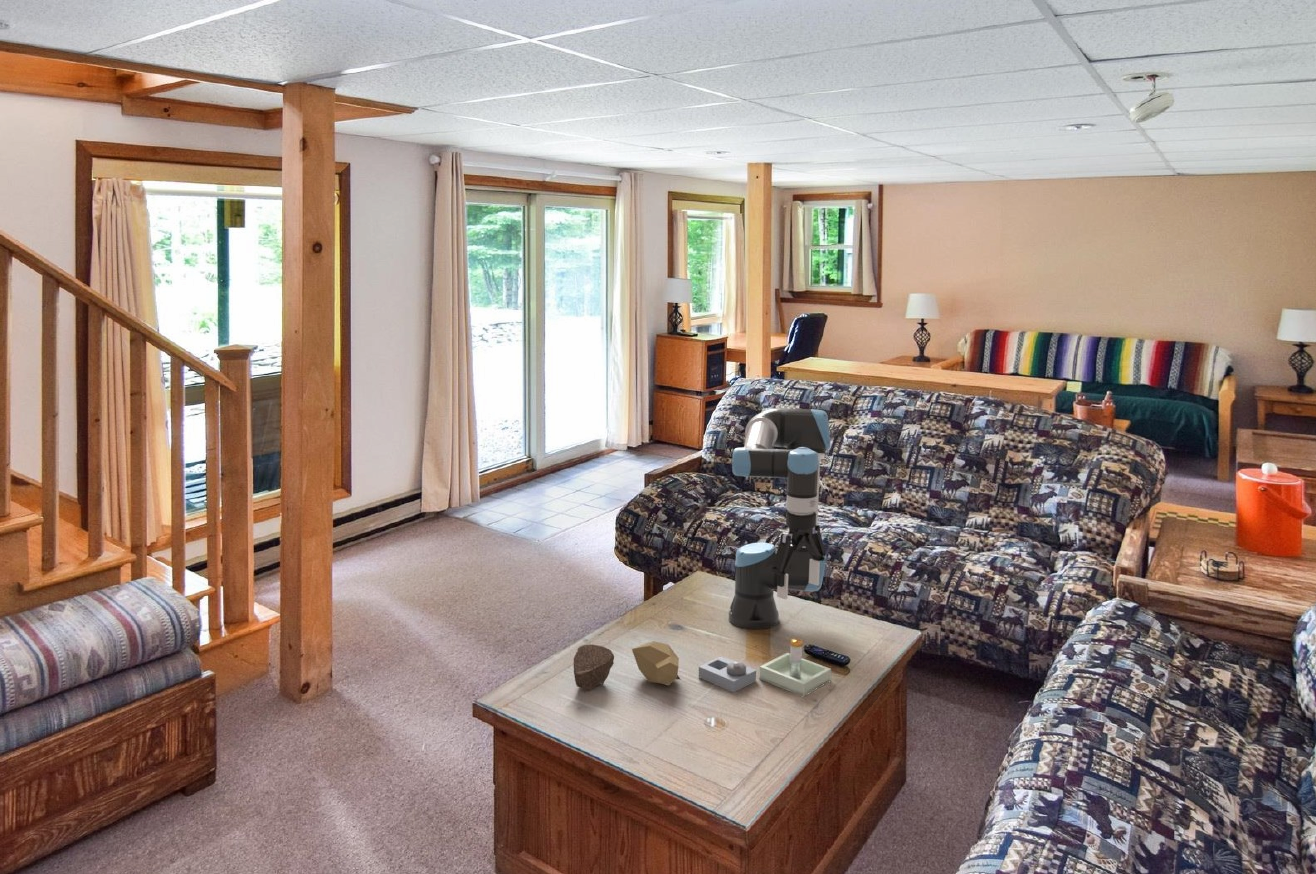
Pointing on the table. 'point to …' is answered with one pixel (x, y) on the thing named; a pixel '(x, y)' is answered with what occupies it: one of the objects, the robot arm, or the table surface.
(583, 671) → the rock
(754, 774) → the table surface
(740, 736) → the table surface
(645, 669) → the low-poly potato
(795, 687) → the tray
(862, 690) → the table surface
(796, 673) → the lock pin
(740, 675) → the block
